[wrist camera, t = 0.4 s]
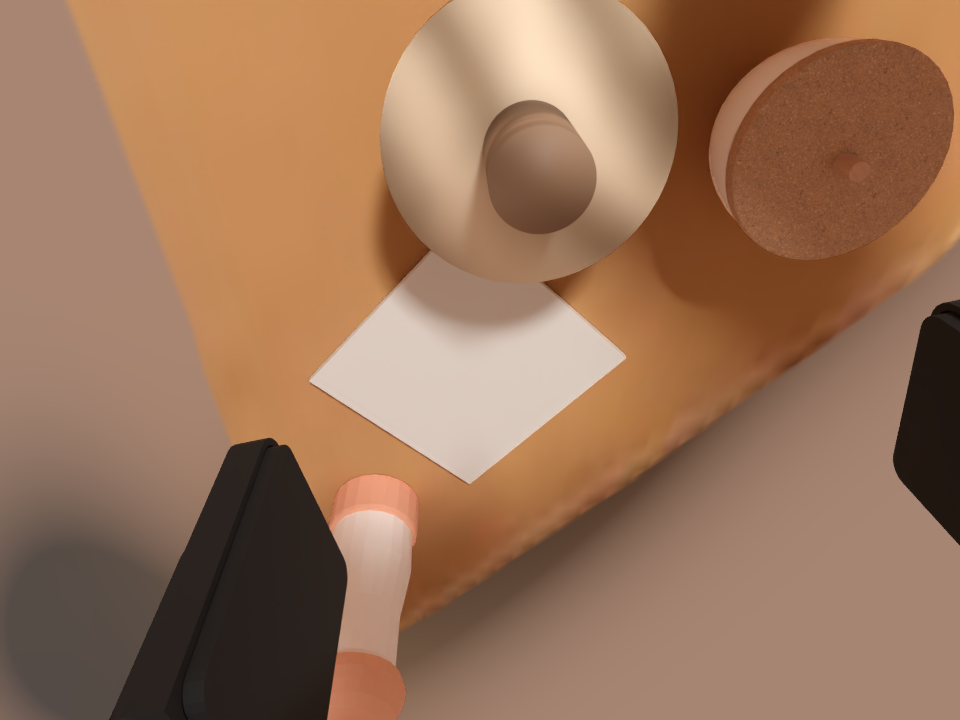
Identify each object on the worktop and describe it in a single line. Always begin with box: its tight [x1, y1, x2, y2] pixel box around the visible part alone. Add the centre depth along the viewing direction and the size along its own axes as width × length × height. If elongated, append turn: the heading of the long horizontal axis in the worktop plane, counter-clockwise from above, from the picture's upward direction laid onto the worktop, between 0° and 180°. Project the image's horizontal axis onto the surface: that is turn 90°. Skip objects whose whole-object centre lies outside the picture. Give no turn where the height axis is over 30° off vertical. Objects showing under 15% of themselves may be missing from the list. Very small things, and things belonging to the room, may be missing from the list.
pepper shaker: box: [327, 474, 419, 720], centre depth 45 cm, size 7×7×19 cm
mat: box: [309, 250, 626, 484], centre depth 45 cm, size 17×16×1 cm
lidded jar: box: [709, 37, 954, 260], centre depth 33 cm, size 11×11×9 cm
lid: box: [380, 0, 678, 283], centre depth 27 cm, size 14×14×6 cm
